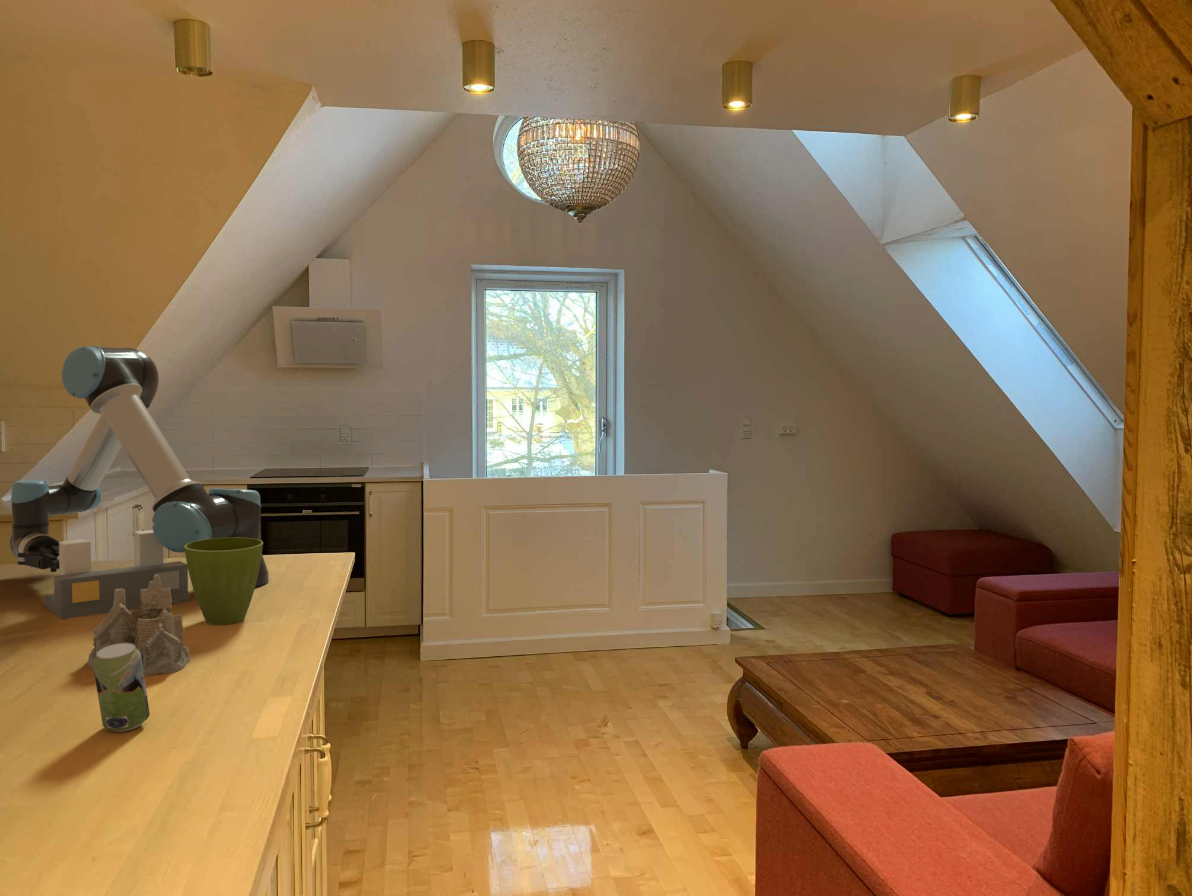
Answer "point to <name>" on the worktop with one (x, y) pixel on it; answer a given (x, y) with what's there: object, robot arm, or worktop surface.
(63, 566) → the key
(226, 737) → the worktop surface
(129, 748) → the worktop surface
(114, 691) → the beverage can
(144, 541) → the key
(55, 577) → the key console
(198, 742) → the worktop surface
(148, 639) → the ceramic cottage
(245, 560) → the flower pot
